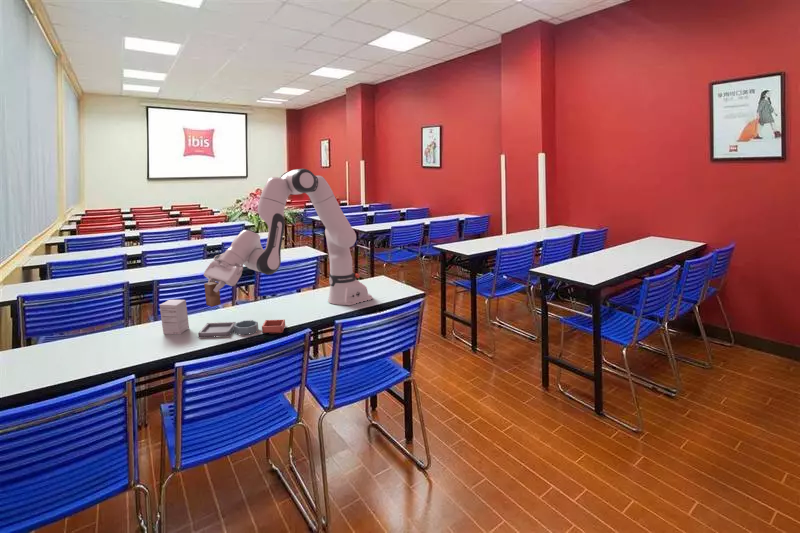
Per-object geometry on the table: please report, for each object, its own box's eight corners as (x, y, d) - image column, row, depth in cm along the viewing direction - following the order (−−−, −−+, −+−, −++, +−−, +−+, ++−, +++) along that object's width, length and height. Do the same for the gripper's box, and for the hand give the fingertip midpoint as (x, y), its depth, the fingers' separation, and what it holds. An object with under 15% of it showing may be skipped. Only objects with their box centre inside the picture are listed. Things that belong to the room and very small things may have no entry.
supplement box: (173, 327, 193) (169, 299, 190) (189, 328, 192) (186, 299, 189) (162, 334, 186) (158, 304, 183) (179, 334, 185) (176, 305, 182)
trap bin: (285, 326, 194) (284, 319, 193) (282, 333, 186) (281, 326, 186) (266, 326, 193) (265, 320, 193) (262, 333, 186) (261, 326, 185)
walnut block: (215, 302, 187) (213, 281, 185) (220, 304, 185) (218, 282, 183) (206, 304, 184) (204, 283, 182) (211, 306, 182) (209, 284, 180)
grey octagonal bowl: (249, 325, 195) (249, 319, 194) (261, 330, 189) (261, 323, 189) (231, 331, 188) (230, 324, 188) (242, 336, 183) (242, 329, 182)
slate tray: (236, 326, 194) (235, 322, 193) (228, 336, 183) (228, 332, 182) (207, 327, 193) (207, 322, 192) (198, 337, 182) (198, 333, 181)
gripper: (250, 270, 184) (230, 298, 178) (223, 263, 197) (204, 290, 191) (239, 261, 179) (218, 290, 174) (213, 255, 192) (192, 282, 187)
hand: (210, 290), depth 183 cm, fingers closed on walnut block, 4 cm apart
